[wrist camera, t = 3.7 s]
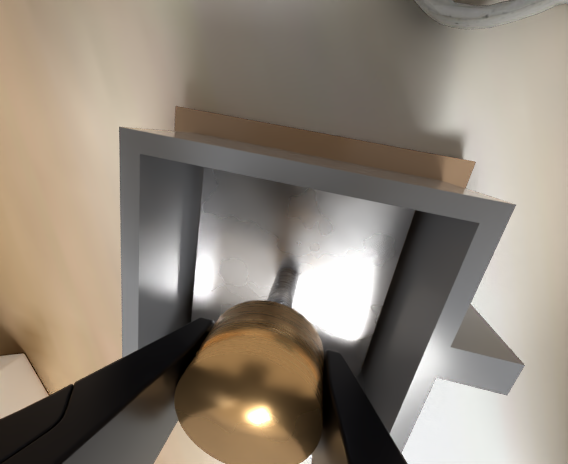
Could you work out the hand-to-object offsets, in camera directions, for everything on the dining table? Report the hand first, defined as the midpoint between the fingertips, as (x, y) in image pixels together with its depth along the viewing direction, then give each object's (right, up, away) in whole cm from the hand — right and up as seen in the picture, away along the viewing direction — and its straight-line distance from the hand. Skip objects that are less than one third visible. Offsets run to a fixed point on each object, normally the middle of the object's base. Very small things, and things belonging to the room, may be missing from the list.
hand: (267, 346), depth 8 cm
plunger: (+1, +1, +5) cm, 5 cm away
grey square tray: (+1, +2, +6) cm, 6 cm away
